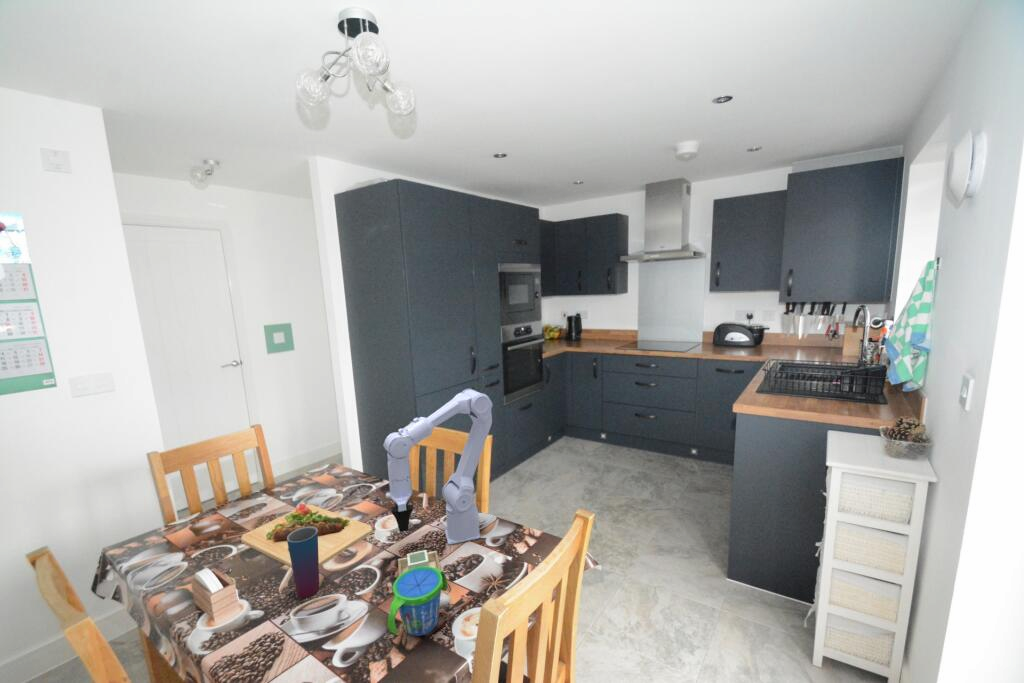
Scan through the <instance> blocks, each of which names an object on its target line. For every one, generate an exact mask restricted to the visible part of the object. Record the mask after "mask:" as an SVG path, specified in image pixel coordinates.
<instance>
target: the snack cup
mask: <svg viewBox="0 0 1024 683" xmlns="http://www.w3.org/2000/svg"><path fill="white" fill-rule="evenodd" d="M440 569H441V568H440ZM440 569H437V568H432V567H427V566H422V567H416V568H412V569H410V570H407V571H406V572H404V573H402V574H401V575H400V576H399V575H398V577H397V578H396V580H394V582H393V586H392V592H393V597H394V598H393V600H392V602H391V604H390V607H389V610H388V619H387V627H388V630H389V632H390V633H392V634H394V635H398V633H399V632H398V629H397V624H396V616H397V614H398V612H399V615H400V620H401V623H402V626H403V629H404V631H405V632H406V634H407V635H409V636H414V637H419V636H420V637H421V636H426V635H428V634H429V633H430V632H432V631H433V629H434V628H435V627H436V626H437V625H438V622H439V618H440V604H441V595H442V594H441V593H442V592H441V591H443V592H444V591H445V592H446V591H447V590H448V588H449V587H448V586H449V584H448V579H447V576H446V573H445V571H444V570H442V569H441V570H440Z"/></svg>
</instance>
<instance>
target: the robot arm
mask: <svg viewBox="0 0 1024 683" xmlns="http://www.w3.org/2000/svg"><path fill="white" fill-rule="evenodd" d="M492 408H493V402H492V400H491V398H490V397H489V396H488V395H487V394H485V393H482V392H479V391H477V390H474V389H473V388H466V389H464V390H463V391H461V392H459V393H457V394H456V395H455V396H454V397H453V398H452V399H450V400H449V401H447V403H445V404H444V405H442V406H441V407H440V408H438V409H437V410H436V411H435V412H433V413H431V414H430V415H429V416H428V417H423V416H420V417H415V418H413V419H412V422H411V423H409V424H407V425H406V426H405V427H403V428H401V427H400V428H399V429H398V430H397V431H398V432H397V431H396V432H395V431H394V432H392V433H389V435H387V436H386V438H385V439H384V443H383V445H382V446H383V448H384V449H385V451H386V452H387V453H386V454H387V456H386V457H387V472H388V483H389V492H386V493H385V498H386V499H390V500H392V501H393V502H394V505H395V506H392V507H390V511H391V514H392V515H393V517H394V518H395V520H396V523H397V527H398V530H399V532H400V533H401V532H408V530H409V525H410V518H411V514H412V512H413V510H414V505H413V504H410V505H409V499H410V498H411V496H412V495H413V489H412V480H411V467H410V457H409V456H410V455H409V454H410V453H411V450H412V448H413V447H415V446H416V445H418V444H419V443H420V442H422V441H423V440H425V439H426V438H428V437H429V436H431V435H433V432H434V428H435V427H437V426H439V425H441V424H442V423H444V422H445V421H447V420H448V419H450V418H452V417H454V416H456V415H457V414H467V415H468V416H469V417H470V419H471V421H472V425H471V429H470V431H469V433H468V437H467V439H466V442H465V445H464V447H463V451H462V452H461V457H460V459H459V462H458V464H457V468H456V469H455V472H454V473H453V474H451V475H450V476H449V478H448V480H447V482H446V483H445V484H444V486H443V487H442V489H441V495H442V497H443V499H444V500H446V501H445V516H446V529H444V533H445V536H446V541H447V544H448V545H449V546H450V545H455V544H459V543H464V542H465V543H466V542H469V541H473V540H478V539H480V538H481V535H480V519H479V510H478V506H477V504H476V503H475V502H474V492H475V484H474V481H473V478H474V477H475V476H474V475H475V473H476V469H477V466H478V464H479V461H480V459H481V455H482V452H483V450H484V447H485V444H486V441H487V439H488V435H489V432H490V431H491V430H490V429H491V427H492V425H493V424H492V423H493V415H492Z"/></svg>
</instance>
